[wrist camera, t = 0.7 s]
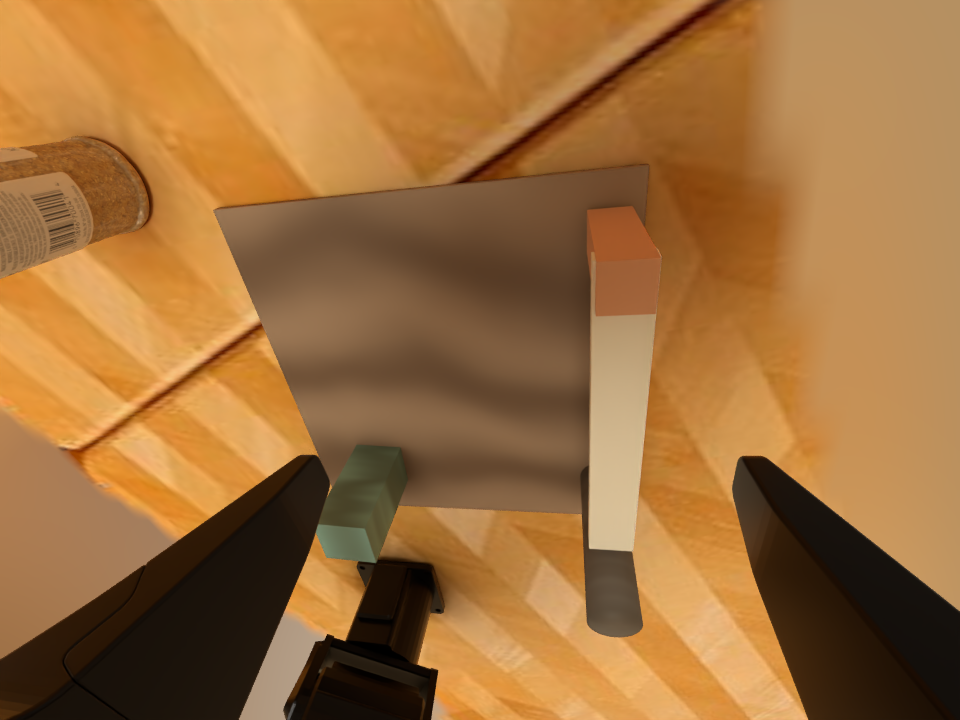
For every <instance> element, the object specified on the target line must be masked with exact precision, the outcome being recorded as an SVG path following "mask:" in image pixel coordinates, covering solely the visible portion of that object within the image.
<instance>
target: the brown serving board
mask: <svg viewBox="0 0 960 720" xmlns="http://www.w3.org/2000/svg"><path fill="white" fill-rule="evenodd" d="M648 176H649V165H648V164H641V165H632V166H622V167H612V168H603V169H593V170H583V171H573V172H564V173H554V174H544V175H535V176H525V177H515V178H505V179H496V180H486V181H476V182H467V183H457V184H447V185H437V186H428V187H418V188H408V189H399V190H389V191H379V192H369V193H360V194H350V195H340V196H331V197H321V198H311V199H301V200H292V201H282V202H272V203H263V204H253V205H243V206H233V207H224V208H217V209H215V210H213V211H214V213H215V216H216V218H217V220H218V223H219V225H220V227H221V230H222V232H223V234H224V237H225V239H226V241H227V244H228V246H229V248H230V251H231V253H232V255H233V258H234V260H235V262H236V265H237V267H238V269H239V272H240V274H241V276H242V279H243V281H244V283H245V285H246V288H247V290H248V292H249V295H250V297H251V299H252V302H253V304H254V306H255V309H256V311H257V313H258V316H259V318H260V320H261V323H262V325H263V327H264V330H265V332H266V334H267V337H268V339H269V341H270V344H271V346H272V348H273V351H274V353H275V355H276V358H277V360H278V362H279V365H280V367H281V369H282V371H283V374H284V376H285V378H286V381H287V383H288V385H289V388H290V390H291V392H292V395H293V397H294V399H295V402H296V404H297V406H298V409H299V411H300V413H301V416H302V418H303V420H304V423H305V425H306V427H307V430H308V432H309V434H310V437H311V439H312V441H313V444H314V446H315V448H316V450H317V453H318V455H319V457H320V460H321V462H322V464H323V467H324V469H325V471H326V473H327V475H328V477H329V481H330V483H331V485H332V489H331V491H330V493H329V495H328V497H327V498H326V501H325V504H324V508H323V511H322V514H321V517H320V520H319V524H318V527H317V530H316V534H317V536H318V538H319V541H320V543H321V546H322V548H323V550H324V553H325V555H326V557H327V558H335V559H344V560H353V561H362V562H371V563H376V562H377V560H378V557H379V554H380V552H381V549H382V547H383V544H384V541H385V539H386V536H387V534H388V531H389V528H390V526H391V523H392V521H393V518H394V515H395V513H396V510H397V507H398V505H399V506H420V507H441V508H462V509H483V510H503V511H524V512H545V513H566V514H582V526H583V547H584V569H585V591H586V613H587V624H588V626H589V627H590V628H591V629H592V630H594V631H595V632H597V633H599V634H602V635H605V636H610V637H628V636H632V635H634V634H636V633H638V632H639V631H640V630H641V629H642V627H643V622H642V615H641V608H640V601H639V595H638V588H637V581H636V574H635V568H634V561H633V554H632V551H618V550H602V549H589V540H588V501H589V405H590V309H591V279H590V272H589V265H588V257H587V210H590V209H602V208H613V207H625V206H633V208H634V209H635V211H636V213H637V215H638V217H639V218H640V220H641V222H642V224H643V226H644V228H645V216H646V203H647V189H648Z"/></svg>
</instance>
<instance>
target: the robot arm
mask: <svg viewBox="0 0 960 720" xmlns="http://www.w3.org/2000/svg"><path fill="white" fill-rule="evenodd" d="M329 487H330V481H329V477H328V475H327V473H326V471H325V469H324V467H323V465H322V463H321V460H320V459H319V457H318V456H316V455H300V456H297V457H296V458H294V459H293V460H292V461H290V462H289V463H287V464H286V465H285V466H283V467H282V468H280V469H279V470H277V471H276V472H275V473H273V474H272V475H270V476H269V477H268V478H266V479H265V480H263V481H262V482H260V483H259V484H258V485H256V486H255V487H253V488H252V489H251V490H249V491H248V492H246V493H245V494H243V495H242V496H241V497H239V498H238V499H236V500H235V501H234V502H232V503H231V504H229V505H228V506H226V507H225V508H224V509H222V510H221V511H219V512H218V513H217V514H215V515H214V516H212V517H211V518H210V519H208V520H207V521H205V522H204V523H202V524H201V525H200V526H198V527H197V528H195V529H194V530H193V531H191V532H190V533H188V534H187V535H185V536H184V537H183V538H181V539H180V540H178V541H177V542H176V543H174V544H173V545H171V546H170V547H168V548H167V549H166V550H164V551H163V552H161V553H160V554H159V555H157V556H156V557H155V558H153V559H151V560H150V561H149V562H147V564H146V565H143V566H141V567H140V568H139V569H137V570H136V571H134V572H133V573H132V574H130V575H129V576H128V577H126V578H125V579H123V580H122V581H120V582H119V583H117V584H116V585H114V586H113V587H111V588H110V589H109V590H107V591H106V592H104V593H103V594H101V595H100V596H98V597H97V598H95V599H94V600H92V601H91V602H89V603H88V604H86V605H85V606H83V607H82V608H80V609H79V610H77V611H75V612H74V613H73V614H71V615H69V616H68V617H66V618H65V619H63V620H61V621H60V622H58V623H57V624H55V625H54V626H52V627H51V628H49V629H48V630H46V631H44V632H43V633H41V634H40V635H38V636H36V637H35V638H33V639H32V640H30V641H29V642H27V643H26V644H24V645H22V646H21V647H19V648H18V649H16V650H14V651H13V652H11V653H10V654H8V655H7V656H5V657H3V658H2V659H0V720H239V718H240V715H241V713H242V711H243V708H244V706H245V703H246V701H247V699H248V696H249V694H250V692H251V689H252V687H253V685H254V682H255V680H256V677H257V675H258V673H259V670H260V668H261V666H262V663H263V661H264V658H265V656H266V653H267V651H268V649H269V647H270V644H271V642H272V639H273V637H274V635H275V632H276V630H277V628H278V625H279V623H280V620H281V618H282V616H283V613H284V611H285V609H286V606H287V604H288V602H289V599H290V597H291V594H292V592H293V590H294V587H295V585H296V583H297V580H298V578H299V575H300V573H301V571H302V568H303V566H304V564H305V561H306V559H307V556H308V554H309V551H310V548H311V545H312V543H313V540H314V536H315V533H316V530H317V527H318V524H319V520H320V517H321V514H322V511H323V508H324V504H325V501H326V498H327V495H328V491H329ZM732 492H733V498H734V502H735V506H736V510H737V514H738V518H739V522H740V526H741V530H742V533H743V537H744V541H745V545H746V549H747V553H748V557H749V561H750V564H751V568H752V572H753V575H754V578H755V581H756V584H757V586H758V589H759V592H760V594H761V597H762V600H763V602H764V605H765V607H766V610H767V613H768V615H769V618H770V621H771V623H772V626H773V628H774V631H775V634H776V636H777V639H778V641H779V644H780V647H781V649H782V652H783V655H784V657H785V660H786V662H787V665H788V668H789V670H790V673H791V675H792V678H793V681H794V683H795V686H796V688H797V691H798V694H799V696H800V699H801V702H802V704H803V707H804V709H805V712H806V715H807V717H808V720H960V611H958V610H957V609H956V608H955V607H954V606H952V605H951V604H950V603H949V602H947V601H946V600H945V599H944V598H942V597H941V596H940V595H939V594H937V593H936V592H935V591H934V590H932V589H931V588H930V587H928V586H927V585H926V584H925V583H923V582H922V581H921V580H919V579H918V578H917V577H916V576H915V575H913V574H912V573H911V572H910V571H908V570H907V569H906V568H904V567H903V566H902V565H901V564H900V563H898V562H897V561H896V560H895V559H893V558H892V557H891V556H889V555H888V554H887V553H886V552H884V551H883V550H882V549H881V548H879V547H878V546H877V545H876V544H874V543H873V542H872V541H871V540H869V539H868V538H867V537H866V536H864V535H863V534H862V533H860V532H859V531H858V530H857V529H856V528H854V527H853V526H852V525H850V524H849V523H848V522H847V521H845V520H844V519H843V518H842V517H840V516H839V515H838V514H837V513H835V512H834V511H833V510H832V509H830V508H829V507H828V506H827V505H825V504H824V503H823V502H822V501H820V500H819V499H818V498H817V497H815V496H814V495H813V494H811V493H810V492H809V491H808V490H806V489H805V488H804V487H803V486H801V485H800V484H799V483H798V482H796V481H795V480H794V479H793V478H791V477H790V476H789V475H788V474H786V473H785V472H784V471H783V470H781V469H780V468H779V467H778V466H776V465H775V464H774V463H772V462H771V461H770V460H769V459H767V458H765V457H763V456H741V457H740V458H739V459H738V462H737V466H736V471H735V476H734V480H733V486H732ZM357 569H358V571H359V573H360V576H361V578H362V580H363V582H364V585H365V587H366V588H365V591H364V594H363V596H362V599H361V601H360V604H359V607H358V609H357V612H356V614H355V617H354V620H353V622H352V625H351V627H350V630H349V633H348V635H347V638H346V640H345V641H343V640H340V639H337V638H334V636H332V635H329V634H327V636H326V638H325V640H324V641H318V642H315V644H314V647H313V649H312V651H311V653H310V656H309V658H308V660H307V663H306V665H305V667H304V669H303V671H302V673H301V675H300V676H299V679H298V681H297V683H296V684H295V687H294V688H293V690H292V692H291V694H290V696H289V698H288V700H287V702H286V704H285V706H284V710H283V711H284V715H285V718H286V720H431V716H432V710H433V703H434V696H435V689H436V682H437V675H438V670H436V669H433V668H431V669H429V668H426V667H422V666H419V665H417V664H418V660H419V656H420V652H421V648H422V644H423V640H424V636H425V632H426V628H427V624H428V620H429V616H430V613H438V614H441V613H443V612H444V608H445V606H444V603H443V599H442V596H441V592H440V589H439V586H438V582H437V579H436V576H435V572H434V569H433V567H432V566H430V565H426V564H412V563H399V562H386V561H377V562H376V563H371V562H362V561H359V562H358V564H357Z"/></svg>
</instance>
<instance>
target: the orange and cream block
mask: <svg viewBox="0 0 960 720" xmlns="http://www.w3.org/2000/svg"><path fill="white" fill-rule="evenodd" d="M587 257H588V265H589V272H590V279H591V309H590V405H589V501H588V540H589V549H602V550H618V551H633V548H634V538H635V528H636V517H637V507H638V497H639V487H640V477H641V466H642V456H643V446H644V436H645V425H646V415H647V405H648V395H649V384H650V374H651V364H652V354H653V344H654V333H655V323H656V313H657V303H658V292H659V282H660V272H661V262H662V255H661V254H660V252H659V250H658V248H656V247H655V246H654V244H653V242H652V240H651V238H650V237H649V235H648V233H647V231H646V229H645V228H644V226H643V224H642V222H641V220H640V218H639V217H638V215H637V213H636V211H635V209H634V208H633V206H625V207H613V208H602V209H590V210H587Z"/></svg>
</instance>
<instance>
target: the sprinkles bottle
mask: <svg viewBox="0 0 960 720" xmlns="http://www.w3.org/2000/svg"><path fill="white" fill-rule="evenodd" d="M148 215H149V202H148V196H147V192H146V189H145V187H144V184H143V182H142V180H141V178H140V176H139V174H138V173H137V171H136V170H135V169H134V167H133V166H132V165H131V164H130V163H129V162H128V161H127V160H126V159H125V158H124V157H123V156H122V155H121V154H120V153H119V152H118V151H117V150H116V149H114V148H112V147H110V146H109V145H107V144H106V143H104V142H101V141H99V140H95V139H91V138H86V137H71V138H68V139H65V140H64V141H62V142H56V143H50V144H44V145H35V146H29V147H20V148H16V147H7V148H0V279H1V278H3V277H6V276H9V275H12V274H15V273H17V272H20V271H23V270H26V269H28V268H31V267H34V266H37V265H39V264H42V263H45V262H48V261H51V260H53V259H56V258H59V257H61V256H64V255H67V254H70V253H72V252H75V251H78V250H80V249H82V248H84V247H85V246H87V245H89V244H92V243H95V242H98V241H101V240H103V239H106V238H109V237H112V236H114V235H118V234H124V233H130V232H134V231H136V230H138V229H139V228H141V227H142V226H143V225H144V223H145V222H146V220H147V219H148Z"/></svg>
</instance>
